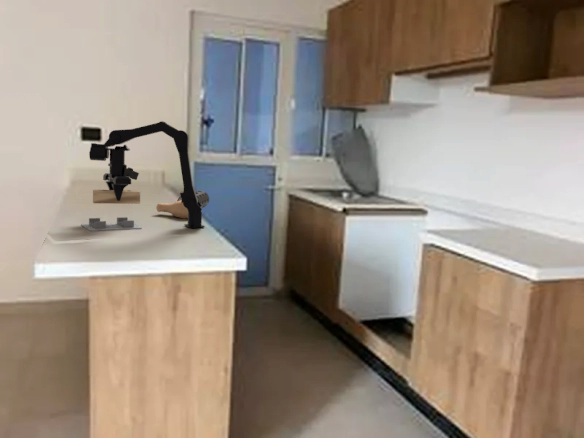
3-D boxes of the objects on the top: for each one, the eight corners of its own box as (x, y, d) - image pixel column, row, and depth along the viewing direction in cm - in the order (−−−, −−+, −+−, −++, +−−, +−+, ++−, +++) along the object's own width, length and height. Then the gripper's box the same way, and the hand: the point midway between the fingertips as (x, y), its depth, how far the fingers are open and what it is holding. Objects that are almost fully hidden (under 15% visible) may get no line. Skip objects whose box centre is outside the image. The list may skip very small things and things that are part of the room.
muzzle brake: (209, 210, 283) (210, 190, 281) (194, 217, 255) (195, 195, 253) (191, 209, 283) (192, 189, 282) (174, 216, 256) (175, 194, 254)
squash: (192, 221, 243) (192, 201, 242) (151, 217, 248) (152, 197, 246) (202, 218, 253) (202, 199, 252) (162, 214, 258) (163, 195, 257)
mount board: (141, 228, 217) (141, 221, 216) (89, 230, 205) (89, 223, 205) (131, 223, 227) (131, 216, 227) (81, 225, 216) (81, 217, 216)
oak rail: (140, 203, 225) (140, 191, 224) (93, 203, 217) (93, 190, 217) (138, 202, 229) (138, 189, 228) (92, 201, 221) (92, 189, 221)
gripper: (144, 163, 217) (143, 202, 220) (129, 160, 233) (129, 197, 235) (116, 162, 211) (115, 203, 213) (103, 159, 226) (102, 197, 229)
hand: (116, 199), depth 223 cm, fingers closed on oak rail, 5 cm apart
